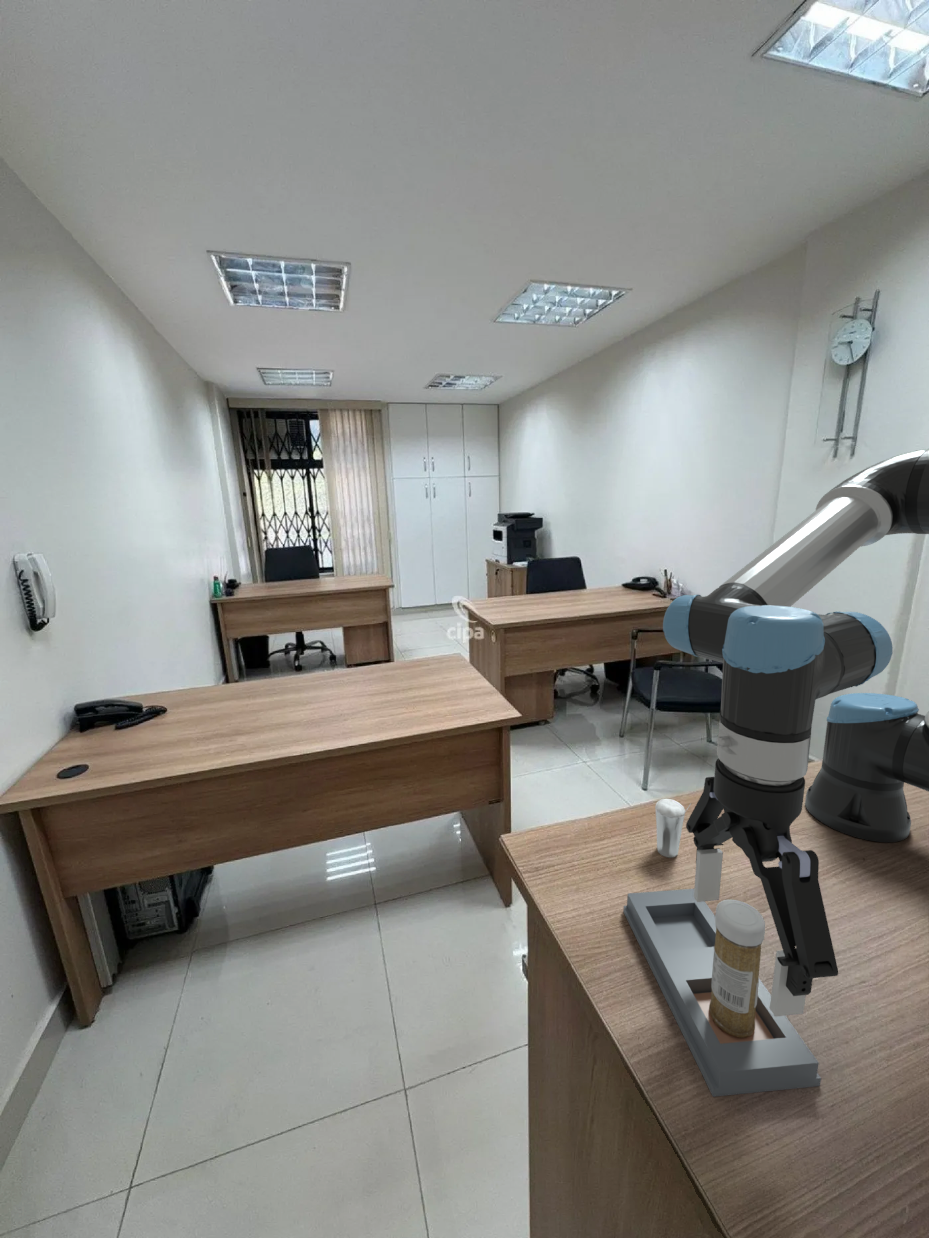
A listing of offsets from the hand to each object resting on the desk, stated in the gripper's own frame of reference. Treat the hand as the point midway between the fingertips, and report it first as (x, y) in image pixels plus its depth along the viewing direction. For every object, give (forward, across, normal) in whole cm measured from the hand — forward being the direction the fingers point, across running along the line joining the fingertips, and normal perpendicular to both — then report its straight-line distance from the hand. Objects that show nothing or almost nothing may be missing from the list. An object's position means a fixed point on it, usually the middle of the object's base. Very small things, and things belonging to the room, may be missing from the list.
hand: (741, 948), depth 52 cm
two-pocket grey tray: (+11, -5, 0) cm, 12 cm away
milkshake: (+11, -28, +6) cm, 31 cm away
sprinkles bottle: (+10, 0, 0) cm, 10 cm away
